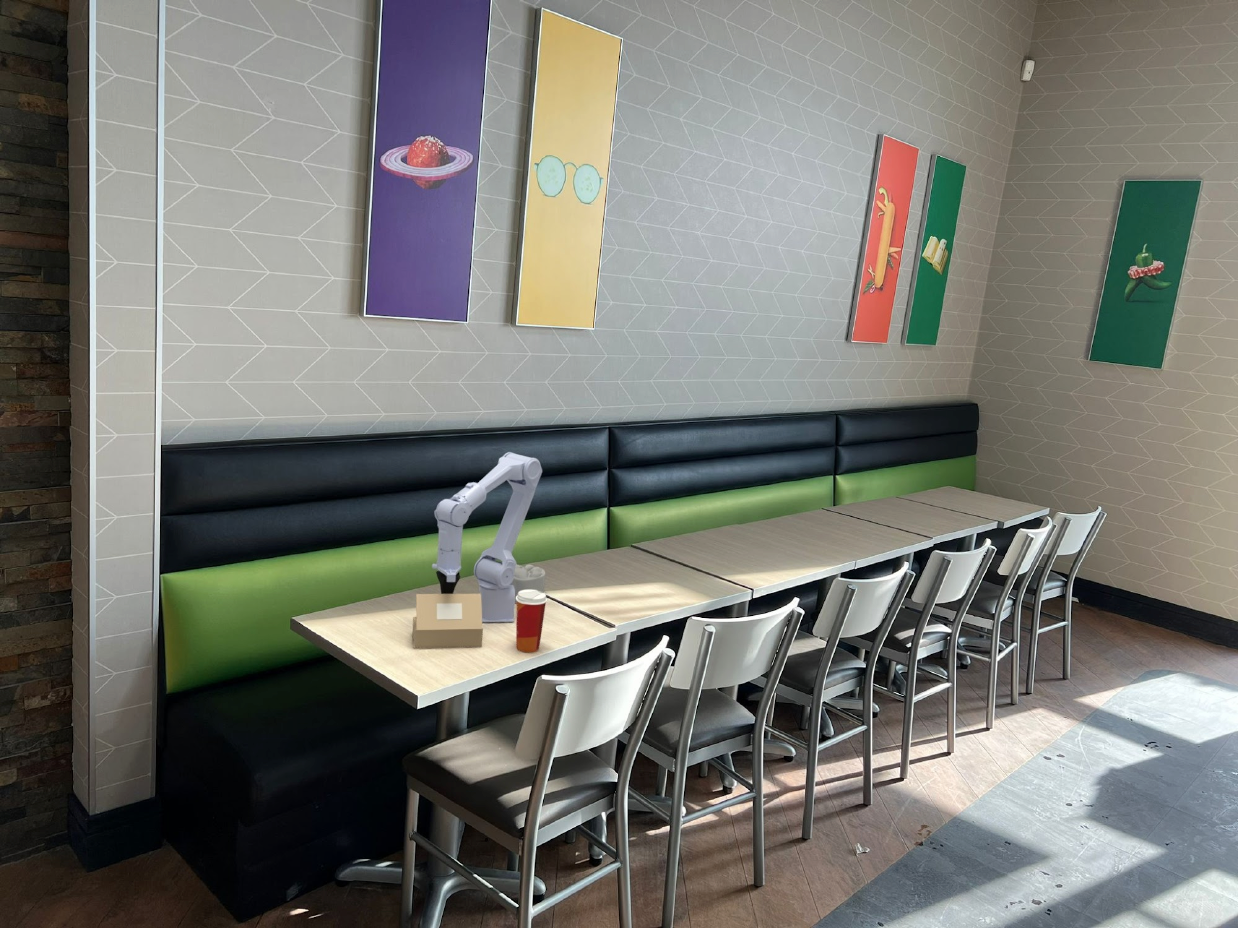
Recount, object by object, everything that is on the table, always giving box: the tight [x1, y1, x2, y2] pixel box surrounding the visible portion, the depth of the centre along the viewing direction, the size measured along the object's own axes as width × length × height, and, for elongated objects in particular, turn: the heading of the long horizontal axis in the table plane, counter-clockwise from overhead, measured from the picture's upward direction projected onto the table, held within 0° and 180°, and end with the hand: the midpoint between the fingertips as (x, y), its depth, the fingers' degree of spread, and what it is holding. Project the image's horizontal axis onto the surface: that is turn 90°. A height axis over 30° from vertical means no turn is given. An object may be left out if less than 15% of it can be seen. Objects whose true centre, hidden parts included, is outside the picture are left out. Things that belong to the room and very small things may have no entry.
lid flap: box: [415, 593, 483, 631], centre depth 221 cm, size 16×9×1 cm
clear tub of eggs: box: [510, 564, 546, 605], centre depth 260 cm, size 10×13×9 cm
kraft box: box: [411, 616, 484, 649], centre depth 224 cm, size 16×9×4 cm, turn 106°
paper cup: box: [515, 590, 548, 654], centre depth 223 cm, size 8×8×14 cm
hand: (446, 600), depth 228 cm, fingers closed
